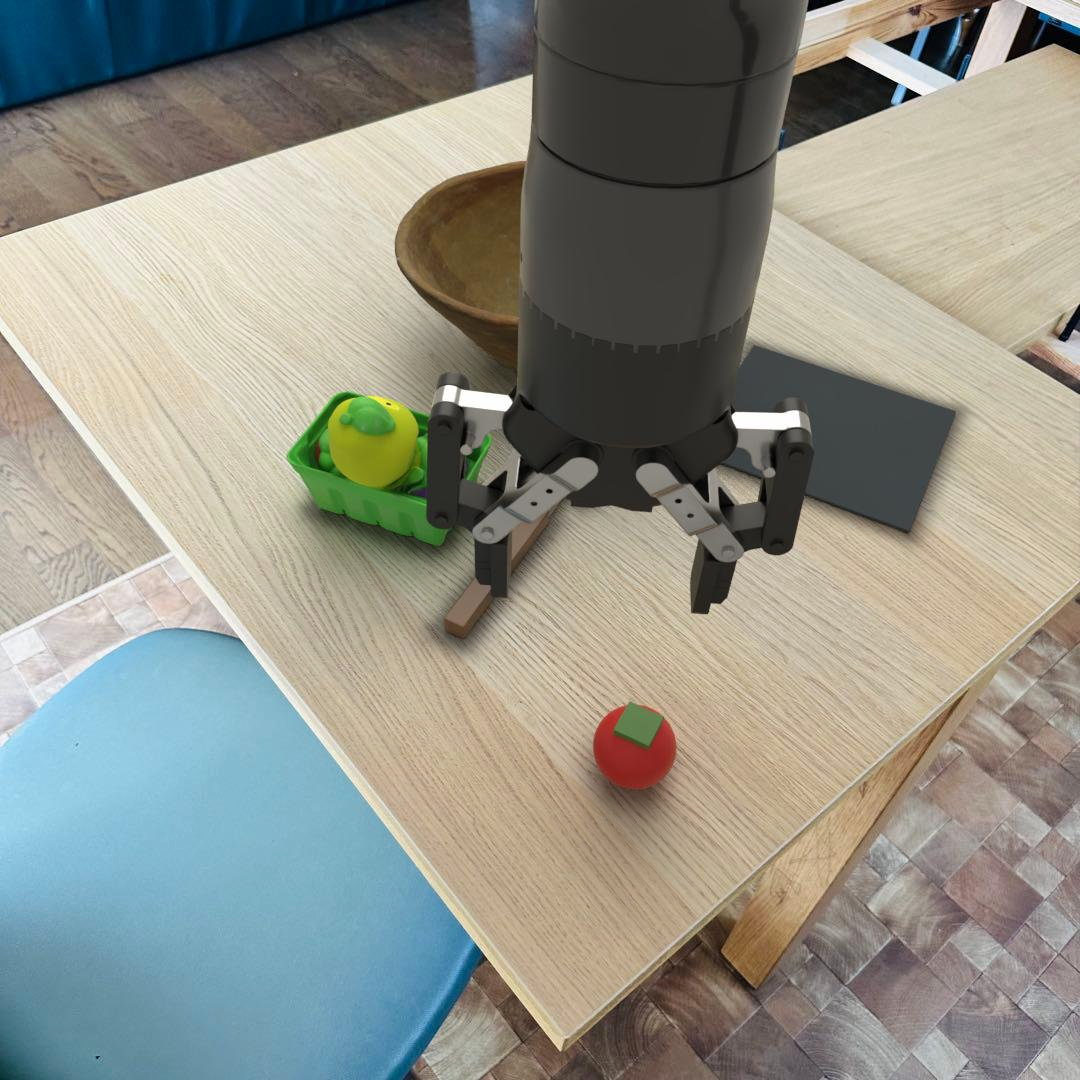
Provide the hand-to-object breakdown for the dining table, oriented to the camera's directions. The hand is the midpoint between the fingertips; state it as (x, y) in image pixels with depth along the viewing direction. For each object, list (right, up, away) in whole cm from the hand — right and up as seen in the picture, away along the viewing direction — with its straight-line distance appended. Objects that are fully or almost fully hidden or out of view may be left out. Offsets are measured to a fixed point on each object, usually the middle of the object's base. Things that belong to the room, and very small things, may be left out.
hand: (600, 590), depth 44 cm
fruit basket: (-12, +4, +24) cm, 27 cm away
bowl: (-2, +17, +37) cm, 41 cm away
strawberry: (+2, -10, +12) cm, 16 cm away
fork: (-4, +2, +23) cm, 23 cm away
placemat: (+18, +10, +31) cm, 37 cm away
